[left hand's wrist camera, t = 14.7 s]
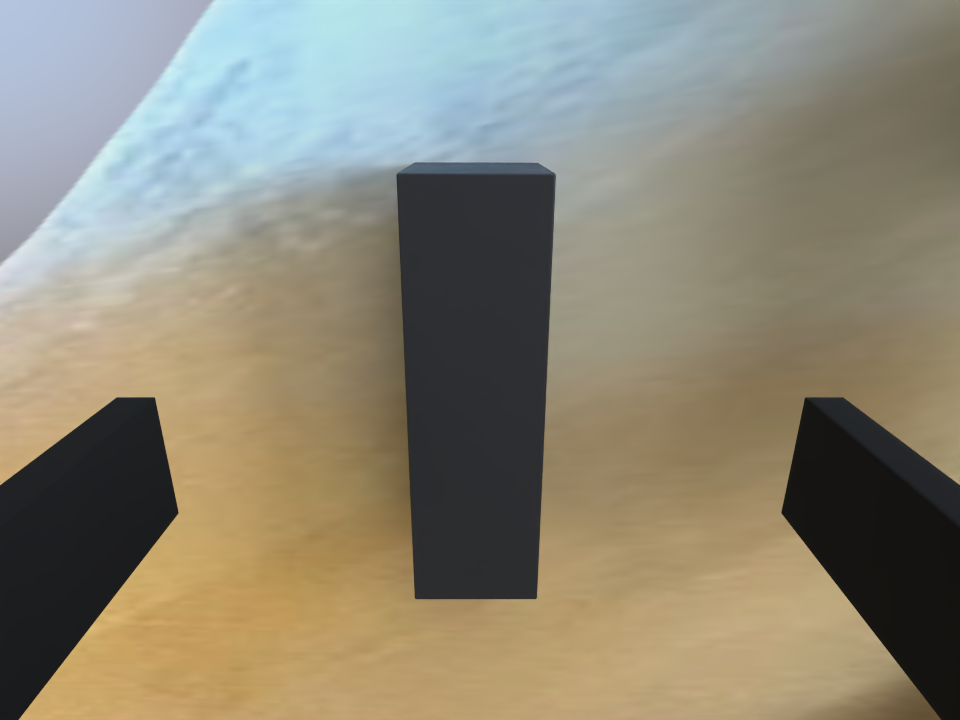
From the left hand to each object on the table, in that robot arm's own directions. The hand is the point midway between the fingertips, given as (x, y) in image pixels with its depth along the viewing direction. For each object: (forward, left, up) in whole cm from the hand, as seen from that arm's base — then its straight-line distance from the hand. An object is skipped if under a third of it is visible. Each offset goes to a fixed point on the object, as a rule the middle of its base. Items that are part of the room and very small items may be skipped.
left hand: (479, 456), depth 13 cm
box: (+2, +8, -27) cm, 28 cm away
